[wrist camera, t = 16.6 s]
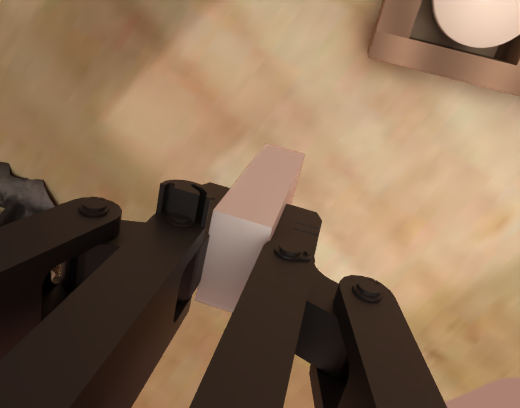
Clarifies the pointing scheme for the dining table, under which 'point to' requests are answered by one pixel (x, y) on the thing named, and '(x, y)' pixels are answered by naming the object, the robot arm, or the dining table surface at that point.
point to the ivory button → (478, 21)
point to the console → (441, 48)
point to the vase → (21, 198)
